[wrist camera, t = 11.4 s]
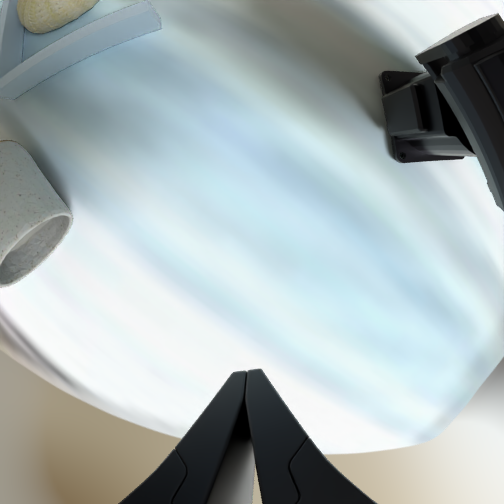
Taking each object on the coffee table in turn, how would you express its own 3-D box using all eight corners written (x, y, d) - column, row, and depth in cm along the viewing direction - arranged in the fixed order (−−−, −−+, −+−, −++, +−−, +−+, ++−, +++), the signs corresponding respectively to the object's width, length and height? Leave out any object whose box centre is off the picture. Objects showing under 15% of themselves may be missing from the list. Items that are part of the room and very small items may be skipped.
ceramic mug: (35, 132, 17) (-36, 133, 9) (91, 204, 18) (20, 230, 11) (-12, 223, 19) (-69, 247, 12) (33, 288, 21) (-21, 329, 13)
